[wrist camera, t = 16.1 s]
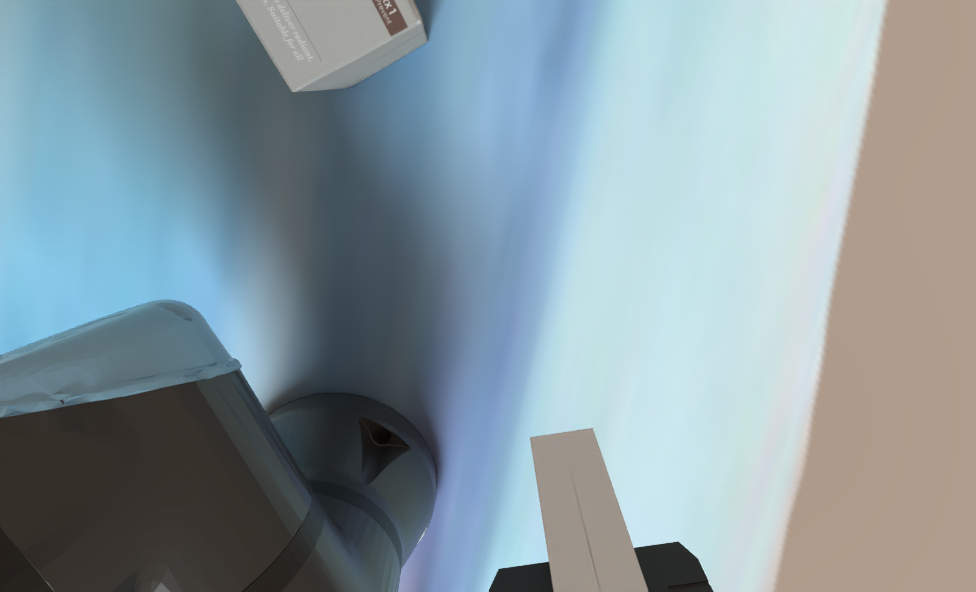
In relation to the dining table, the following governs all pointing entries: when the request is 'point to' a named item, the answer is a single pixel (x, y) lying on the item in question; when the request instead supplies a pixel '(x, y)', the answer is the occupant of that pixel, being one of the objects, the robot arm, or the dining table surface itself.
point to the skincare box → (334, 38)
